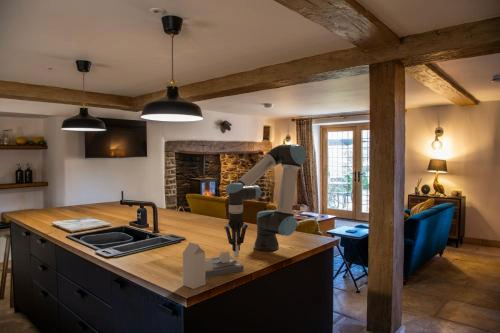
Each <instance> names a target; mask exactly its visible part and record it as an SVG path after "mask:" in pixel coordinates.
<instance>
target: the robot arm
mask: <svg viewBox="0 0 500 333" xmlns="http://www.w3.org/2000/svg"><path fill="white" fill-rule="evenodd" d="M306 160H307V152H306V150H305V148H304V147H303V146H302V145H301V144H294V143H292V144H279V145H277V146H275V147H273V148H272V149H270V150H269V151H267V152H266V153H265V154H264V155H263V157H262V159H261V160H260V161H258V162H257V163H256V164H255V165H254V166H252V168H250V169H249V170H248V171H246V172H245V173H244V174H243V175H241V177H240V178H239V179H237V181H236V182H231V183H229V184H227V186H226V187H225V193H226V195H227V196H228V223H227V225H225V226H224V227H223V229H224V230H225V232H226V237H227V241H228V244H229V245H231V246H232V248H231V250H232V252H233V257H234V258H235V259H237V258H240V257H239V255H240V254H239V252H240V250H241V246H242V244H243V243H244V240H245V235H246V231H247V228H248V227H249V226H248V224H245V222H244V201H248V200H250V201H251V200H257V199H259V198H261V196H262V189H261V187H260V186H259V185H257V184H254V183H256V182H257V181H258V180H259V179H260V178H262V177H263V176H264V175H265V174H266V173H267V172H269V171H270V170H271V169H272V168H275V167H276V166H278V165H280V164H281V165H280V166H281V167H282V175H281V182H280V190H279V196H278V204H277V208H275V209H274V210H270V209H269V210H261V211H258V212H257V213H256V237H255V238H256V239H255V241H254V244H253V247H254V249H255V250H257V251H262V252H271V251H276V249H277V250H278V249H279V242H278V239H277V235H280V236H282V237H284V236H285V237H288V236H291V235H293V233H294V232H296V229H297V226H298V222H297V218H295V217H294V216H295V213H294V211H293V204H294V197H295V192H296V191H295V190H296V184H297V177H298V171H299V170H301V167H302V165H303V164H305V162H306ZM230 229H231V231H230Z"/></svg>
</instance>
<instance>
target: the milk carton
mask: <svg viewBox="0 0 500 333" xmlns="http://www.w3.org/2000/svg"><path fill="white" fill-rule="evenodd" d="M205 259H206V251H205V250H203V249H202V248H201V246H200V244H199V243H194V242H190V241H188V245H186V247H185V249H184V250H183V252H182V284H183V287H187V288H189V289H192V290H195V289H198V288H200V287H203V286H206V277H205Z"/></svg>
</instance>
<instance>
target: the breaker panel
mask: <svg viewBox="0 0 500 333" xmlns="http://www.w3.org/2000/svg"><path fill="white" fill-rule="evenodd" d="M244 268H245V267H244V265H243V264H242V263H240V262H239V261H237V260H236V259H234V258H232V257H231V256H230V262H227V263H222V262H220V256H215V257H208V258H206V257H205V278H210V277H215V276H222V275H226V274H227V273H228V274H232V273H233V274H234V273H237V272H244Z"/></svg>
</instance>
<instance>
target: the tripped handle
mask: <svg viewBox="0 0 500 333" xmlns="http://www.w3.org/2000/svg"><path fill="white" fill-rule="evenodd" d="M219 257H220V262H222V263H227V262H230V257H231V255H230V251H228V250H221V251H219Z"/></svg>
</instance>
